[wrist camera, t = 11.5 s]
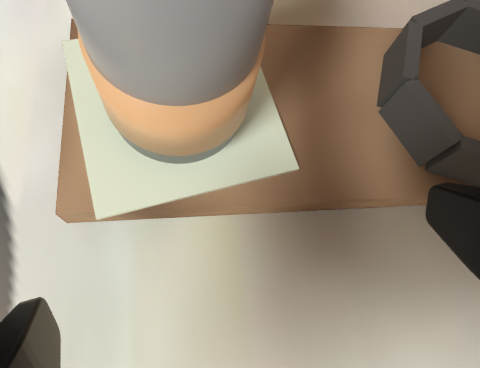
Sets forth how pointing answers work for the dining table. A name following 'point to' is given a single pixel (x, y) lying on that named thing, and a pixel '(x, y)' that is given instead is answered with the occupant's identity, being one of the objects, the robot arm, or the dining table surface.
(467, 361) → the dining table surface
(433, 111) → the grey octagonal ring
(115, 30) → the two-tone cylinder
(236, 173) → the sage pad
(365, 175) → the walnut board
